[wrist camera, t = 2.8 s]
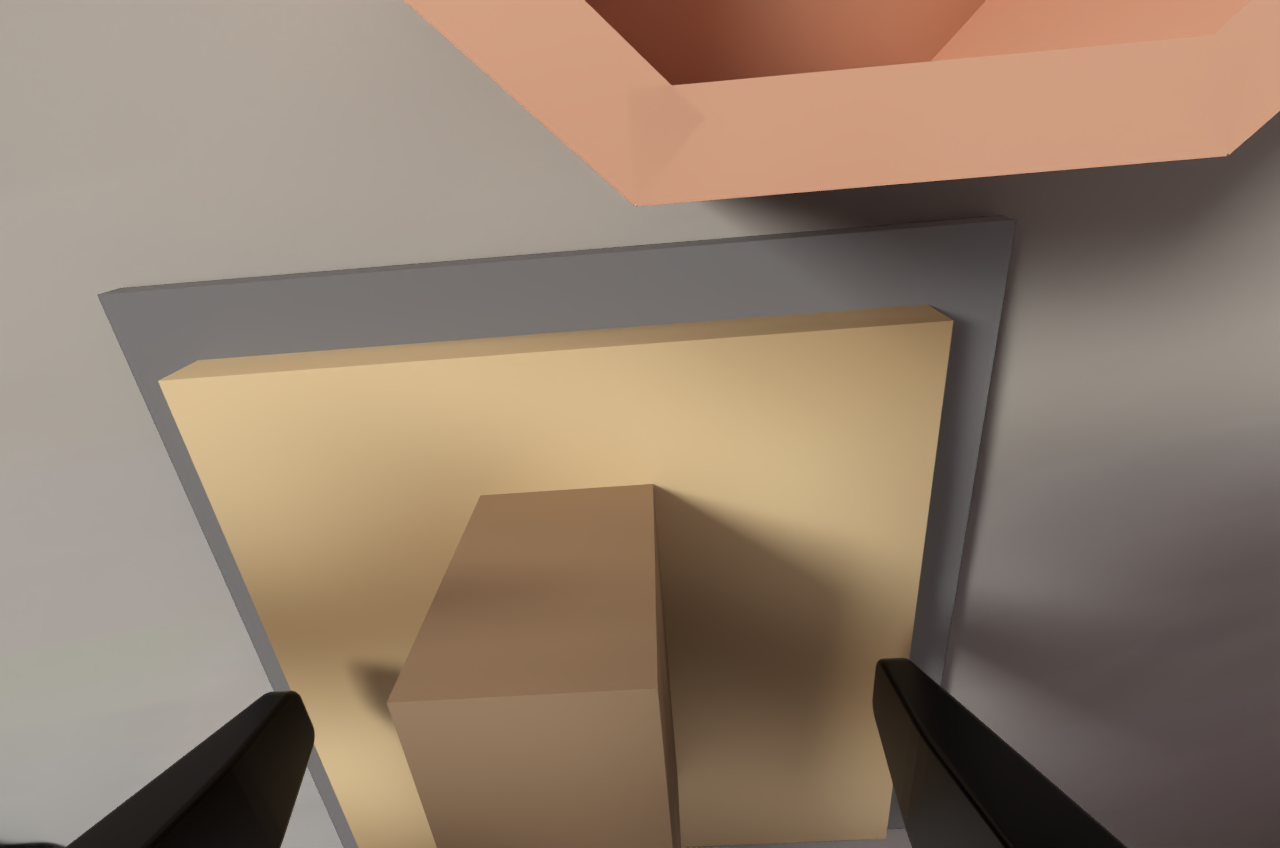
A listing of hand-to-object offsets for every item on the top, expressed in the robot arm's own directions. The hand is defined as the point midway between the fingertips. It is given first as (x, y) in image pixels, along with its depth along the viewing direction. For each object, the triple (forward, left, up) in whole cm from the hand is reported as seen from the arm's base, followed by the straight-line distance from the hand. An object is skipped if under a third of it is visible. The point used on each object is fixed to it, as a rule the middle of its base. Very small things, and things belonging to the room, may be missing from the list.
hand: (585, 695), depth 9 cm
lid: (0, 0, -2) cm, 2 cm away
